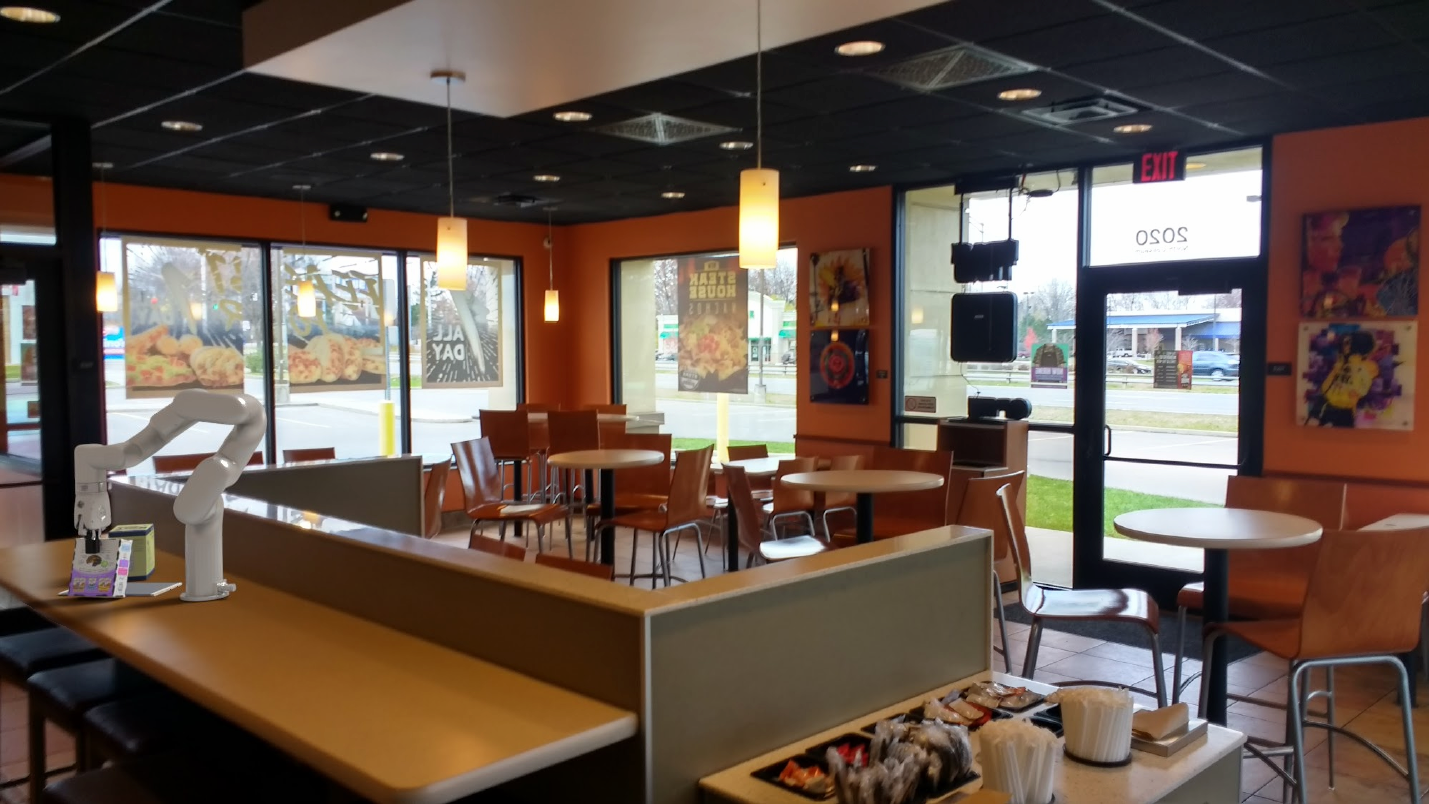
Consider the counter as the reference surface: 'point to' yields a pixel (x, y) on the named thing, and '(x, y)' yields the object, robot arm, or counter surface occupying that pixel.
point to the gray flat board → (143, 589)
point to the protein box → (138, 549)
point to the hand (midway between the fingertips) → (92, 553)
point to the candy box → (100, 569)
